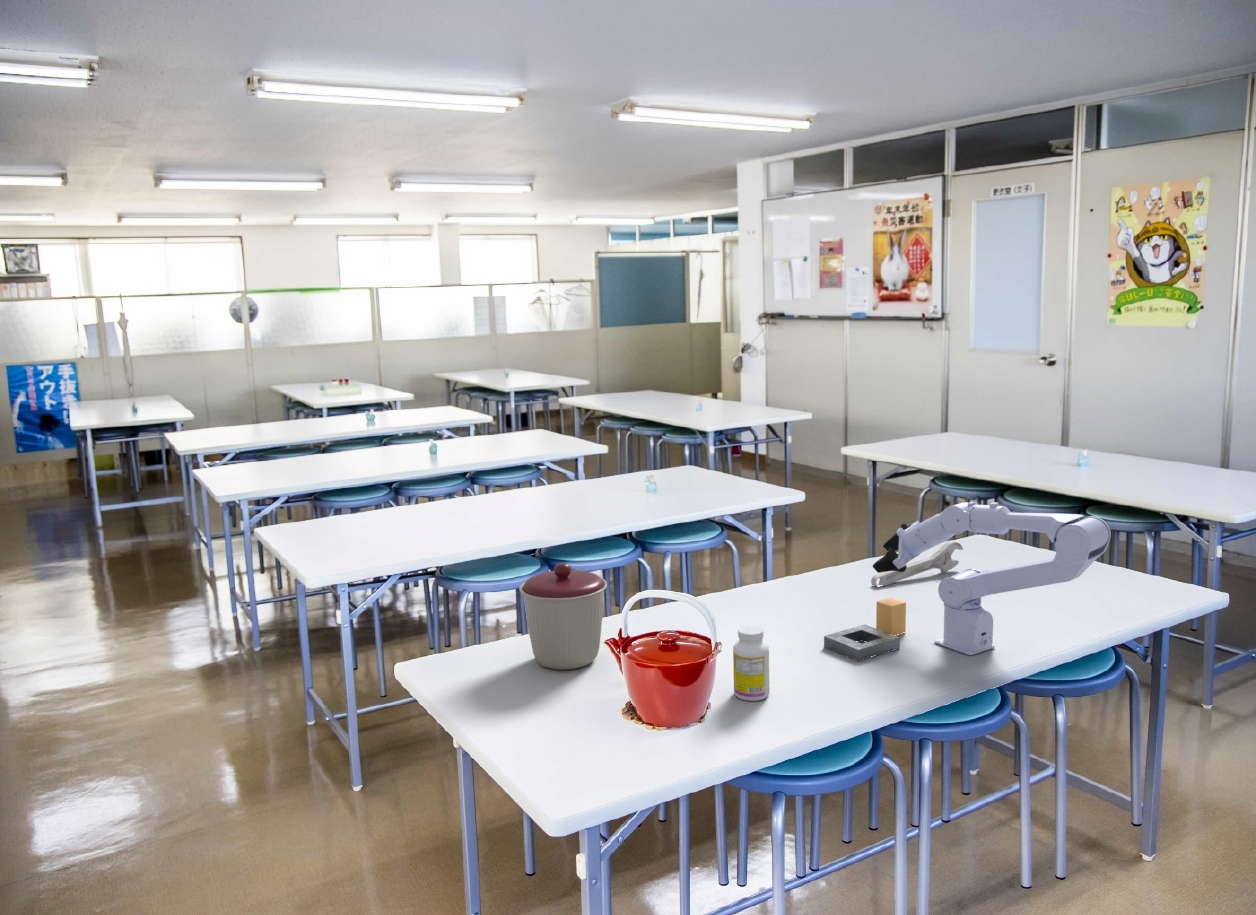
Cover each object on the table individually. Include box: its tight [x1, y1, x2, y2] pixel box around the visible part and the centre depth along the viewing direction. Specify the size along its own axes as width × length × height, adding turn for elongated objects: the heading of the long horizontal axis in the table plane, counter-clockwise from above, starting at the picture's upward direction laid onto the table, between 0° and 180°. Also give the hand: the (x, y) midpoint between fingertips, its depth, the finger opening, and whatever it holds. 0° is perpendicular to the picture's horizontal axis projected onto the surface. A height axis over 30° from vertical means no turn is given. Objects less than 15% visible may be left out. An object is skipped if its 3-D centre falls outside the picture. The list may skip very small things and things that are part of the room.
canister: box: [518, 562, 608, 671], centre depth 198 cm, size 18×18×21 cm
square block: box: [875, 597, 907, 635], centre depth 210 cm, size 4×4×7 cm
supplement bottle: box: [732, 625, 770, 702], centre depth 179 cm, size 7×7×13 cm
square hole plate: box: [823, 624, 901, 662], centre depth 201 cm, size 10×12×2 cm
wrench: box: [870, 540, 964, 588], centre depth 249 cm, size 8×2×30 cm
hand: (881, 558), depth 214 cm, fingers open, 7 cm apart
